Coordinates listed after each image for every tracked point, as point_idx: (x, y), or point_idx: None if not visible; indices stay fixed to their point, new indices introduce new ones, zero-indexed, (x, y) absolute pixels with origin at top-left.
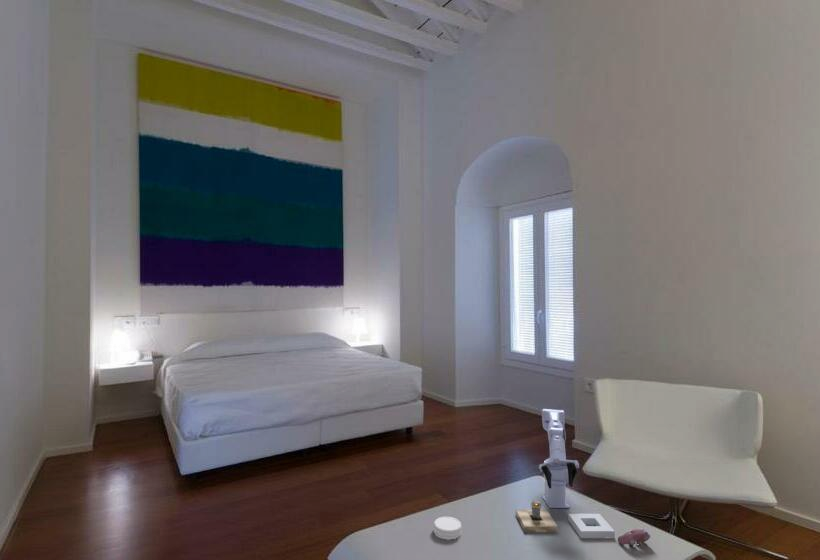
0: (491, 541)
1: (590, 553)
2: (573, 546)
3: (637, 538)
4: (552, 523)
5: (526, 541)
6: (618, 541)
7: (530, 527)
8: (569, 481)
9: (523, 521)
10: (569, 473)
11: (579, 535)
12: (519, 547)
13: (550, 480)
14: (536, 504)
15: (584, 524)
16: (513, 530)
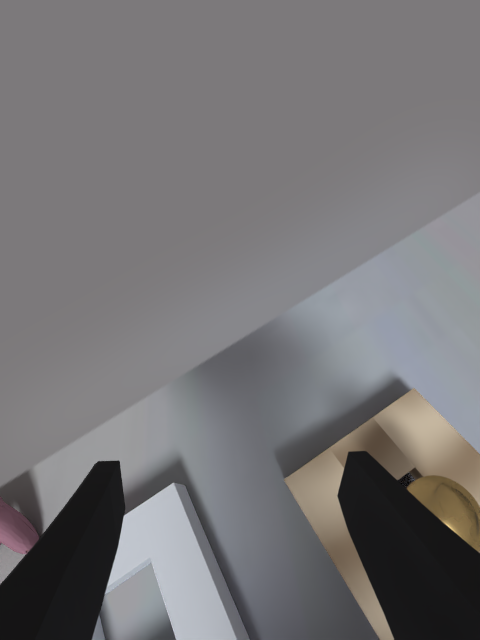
0: (466, 273)
1: (152, 393)
2: (208, 404)
3: None
4: (314, 497)
5: (366, 339)
6: (36, 535)
7: (391, 404)
8: (101, 471)
9: (446, 430)
10: (30, 591)
11: (191, 503)
12: (368, 295)
13: (396, 617)
14: (441, 516)
15: (158, 573)
16: (453, 382)
